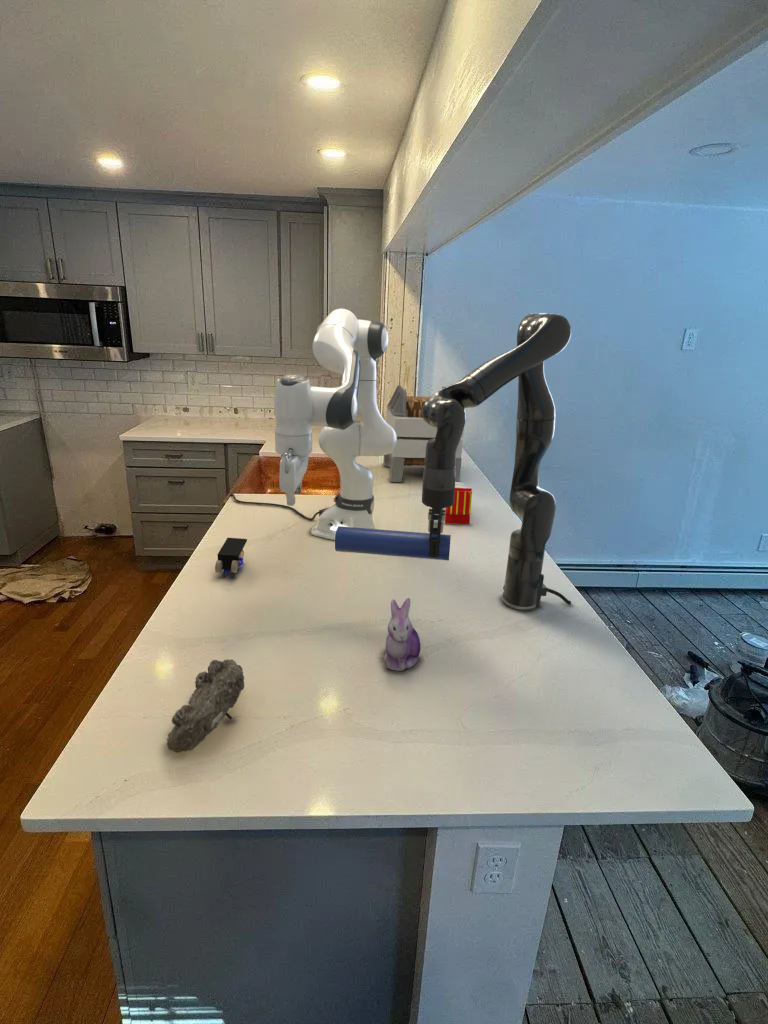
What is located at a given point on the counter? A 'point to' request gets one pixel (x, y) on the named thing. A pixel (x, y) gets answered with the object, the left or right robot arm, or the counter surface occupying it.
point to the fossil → (206, 705)
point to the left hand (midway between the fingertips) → (294, 498)
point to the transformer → (411, 434)
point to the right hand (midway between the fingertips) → (434, 550)
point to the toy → (460, 506)
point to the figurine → (401, 639)
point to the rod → (389, 542)
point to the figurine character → (230, 556)
